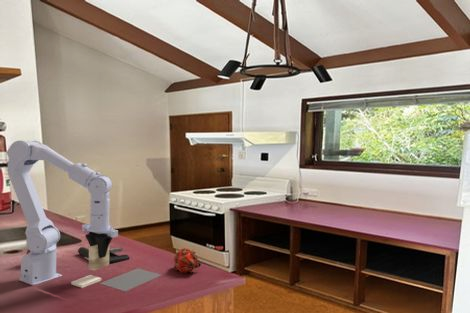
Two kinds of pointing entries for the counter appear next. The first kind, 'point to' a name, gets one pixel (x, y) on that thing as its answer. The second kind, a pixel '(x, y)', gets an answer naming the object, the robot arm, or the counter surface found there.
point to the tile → (86, 281)
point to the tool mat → (130, 279)
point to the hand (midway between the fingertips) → (99, 256)
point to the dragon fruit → (186, 261)
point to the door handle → (112, 257)
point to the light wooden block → (97, 258)
